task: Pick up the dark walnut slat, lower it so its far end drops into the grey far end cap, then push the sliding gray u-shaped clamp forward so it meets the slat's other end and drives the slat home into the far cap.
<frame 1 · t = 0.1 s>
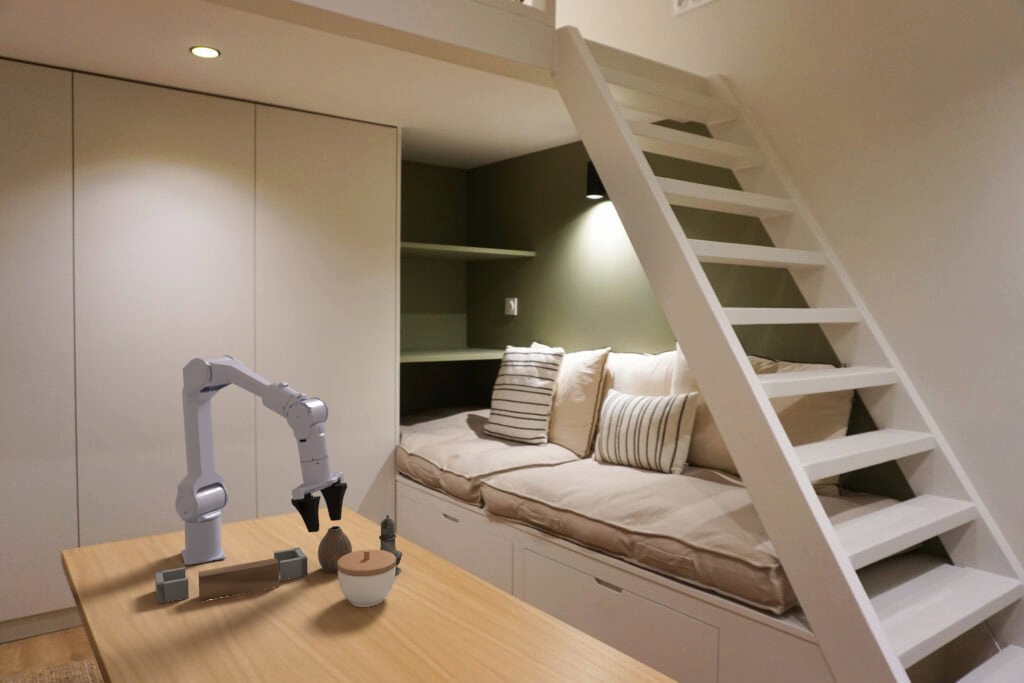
hand: (325, 525, 140), 11 cm above the table, tool pointing down, fingers open, 7 cm apart
gray u-shaped clamp: (171, 585, 132), point 2 cm above the table, slide at 0.0 cm
slat: (239, 592, 133), on the table
cap far: (290, 572, 143), on the table
vase: (335, 570, 145), on the table
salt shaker: (388, 573, 143), on the table
lidded jar: (367, 601, 130), on the table
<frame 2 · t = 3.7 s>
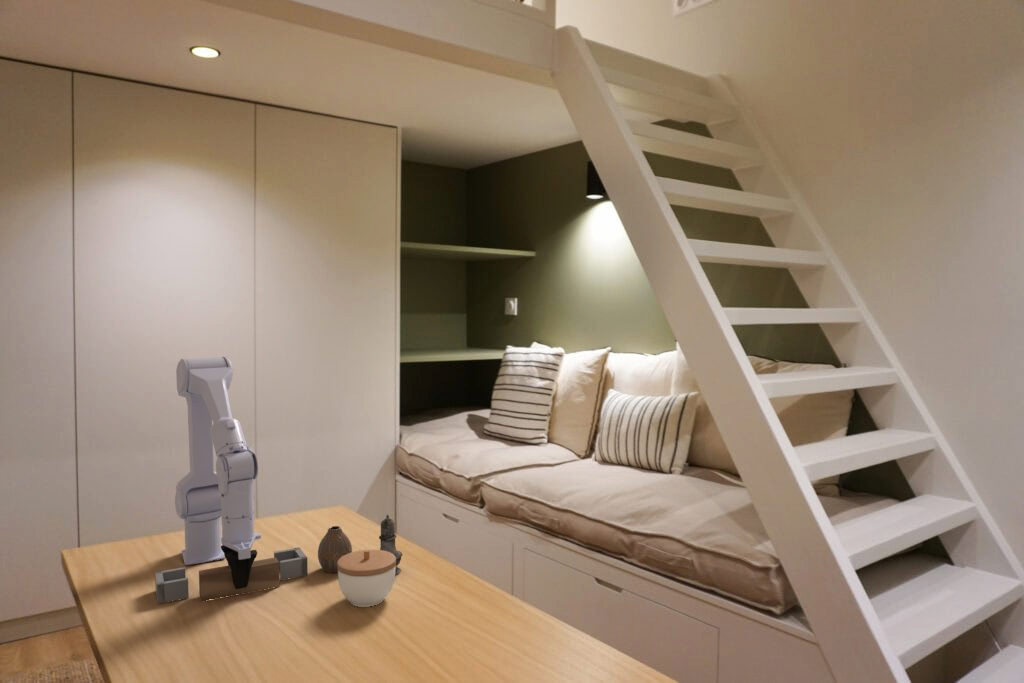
hand: (239, 584, 133), 1 cm above the table, tool pointing down, fingers closed on slat, 3 cm apart
slat: (240, 591, 133), on the table, touching gripper
everything else where it was.
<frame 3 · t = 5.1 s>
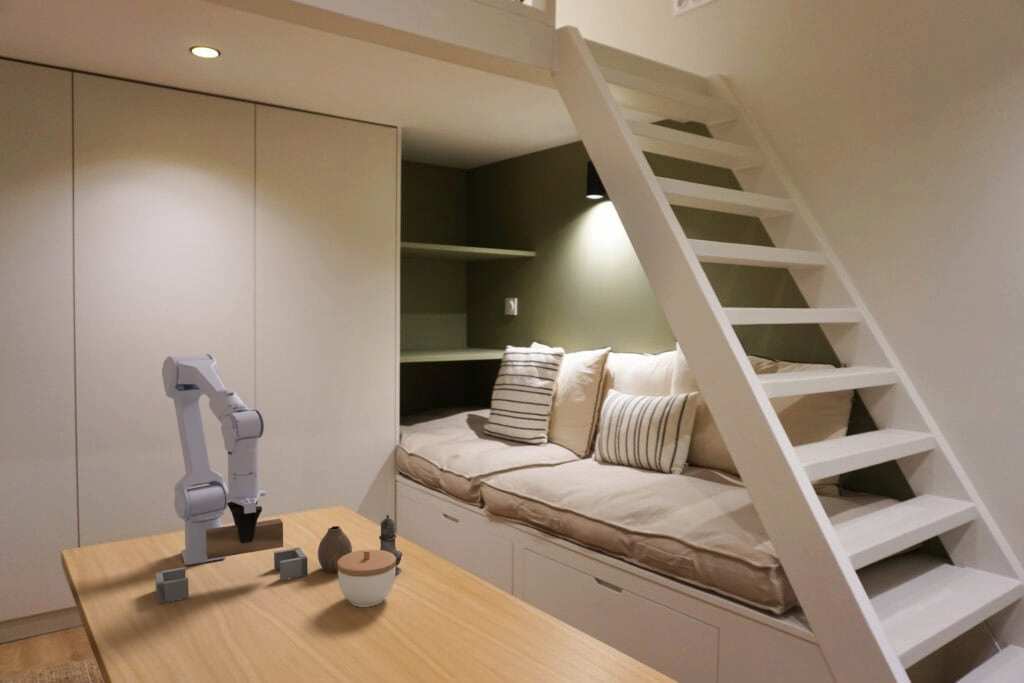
hand: (245, 539, 138), 8 cm above the table, tool pointing down, fingers closed on slat, 3 cm apart
slat: (245, 550, 138), point 6 cm above the table, touching gripper
everything else where it was.
when the fingers open (2 cm above the table, at t = 6.6 s): slat stays where it is, on the table.
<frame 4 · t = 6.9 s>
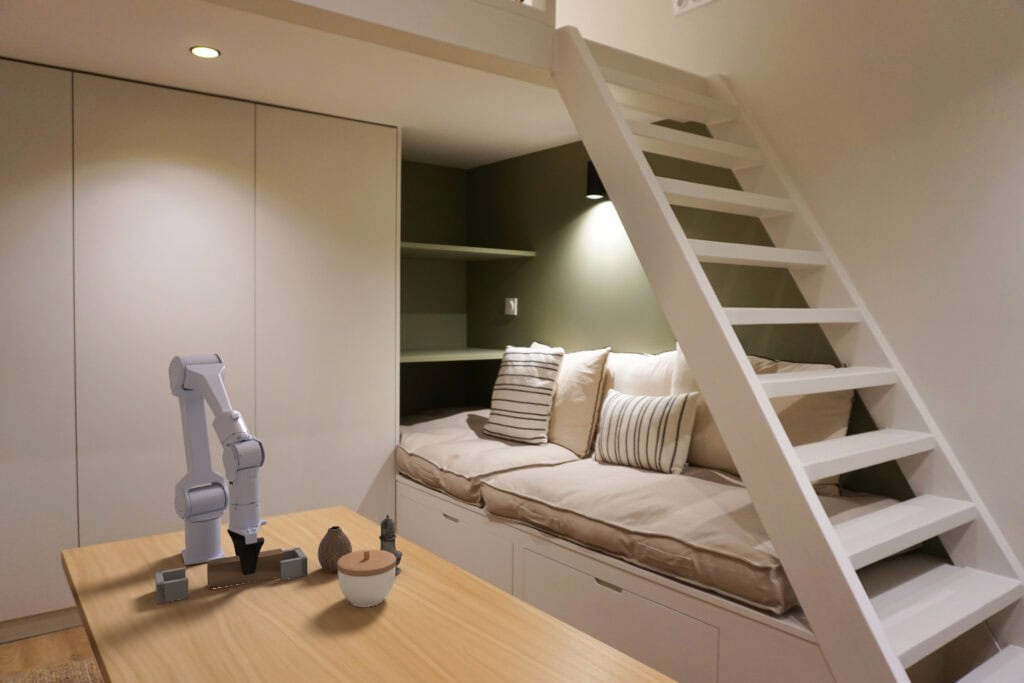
hand: (246, 568, 139), 2 cm above the table, tool pointing down, fingers open, 6 cm apart
slat: (246, 581, 139), on the table
everything else where it was.
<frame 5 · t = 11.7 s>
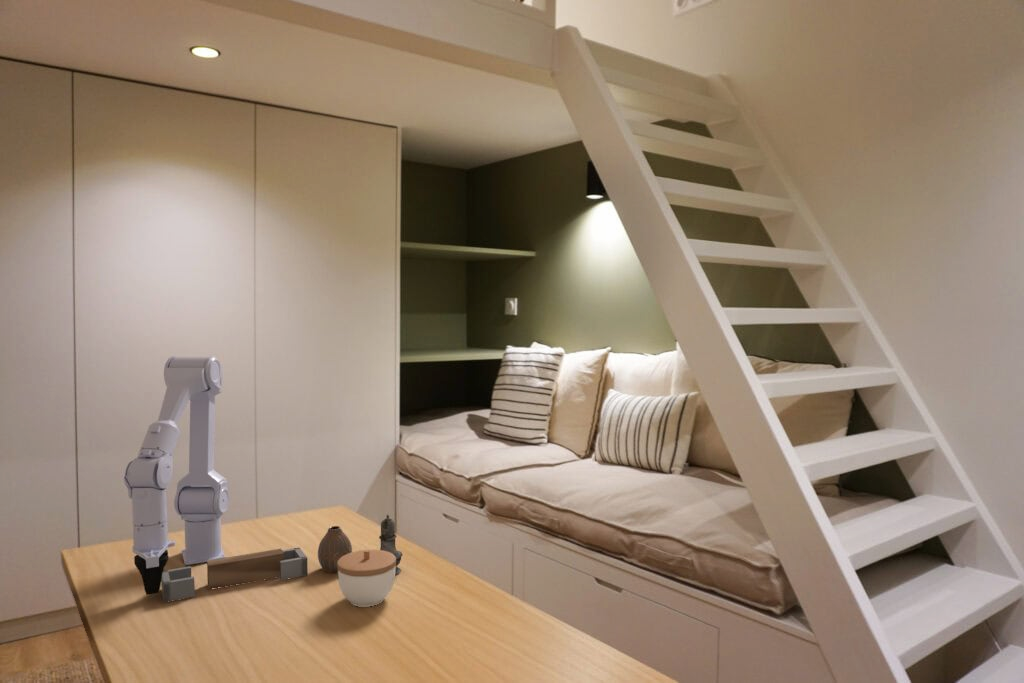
hand: (152, 592, 130), 1 cm above the table, tool pointing down, fingers closed
gray u-shaped clamp: (177, 583, 133), point 2 cm above the table, slide at 1.1 cm, touching gripper
everything else where it was.
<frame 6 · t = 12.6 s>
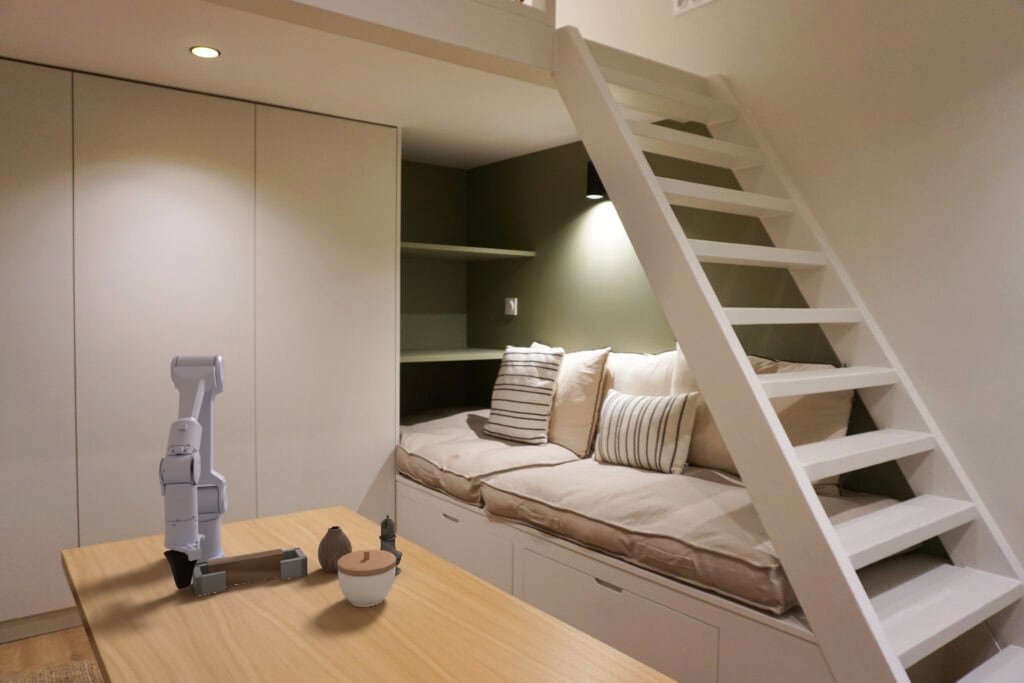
hand: (183, 587, 133), 1 cm above the table, tool pointing down, fingers closed
gray u-shaped clamp: (208, 578, 135), point 2 cm above the table, slide at 6.5 cm, touching gripper
everything else where it was.
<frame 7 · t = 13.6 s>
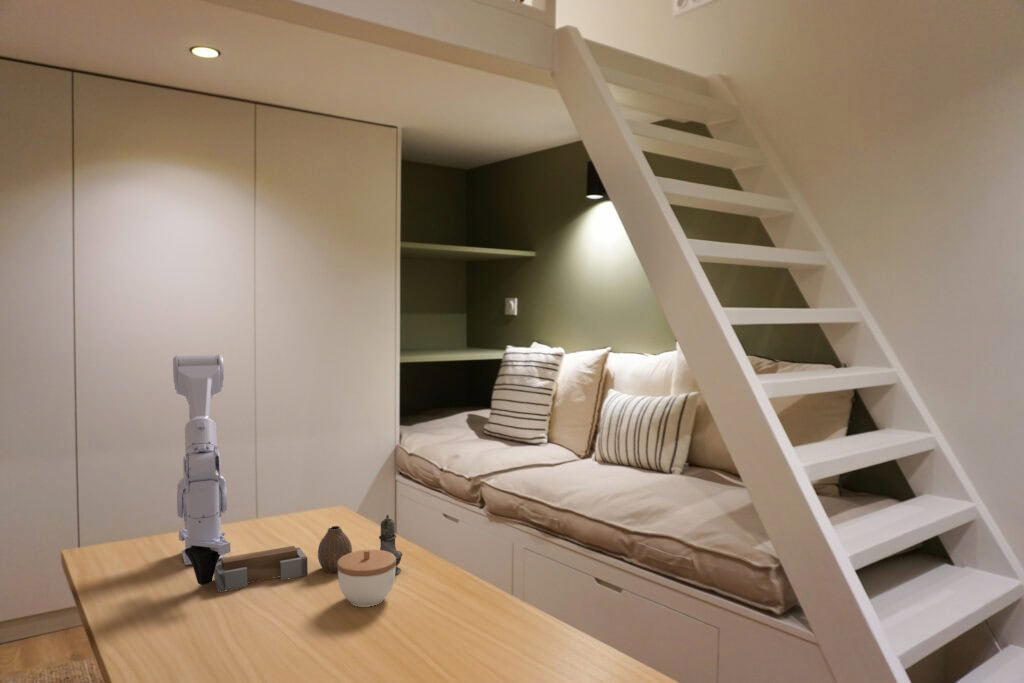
hand: (205, 582, 135), 1 cm above the table, tool pointing down, fingers closed
gray u-shaped clamp: (230, 574, 137), point 2 cm above the table, slide at 10.5 cm, touching gripper
slat: (260, 578, 140), on the table
everything else where it was.
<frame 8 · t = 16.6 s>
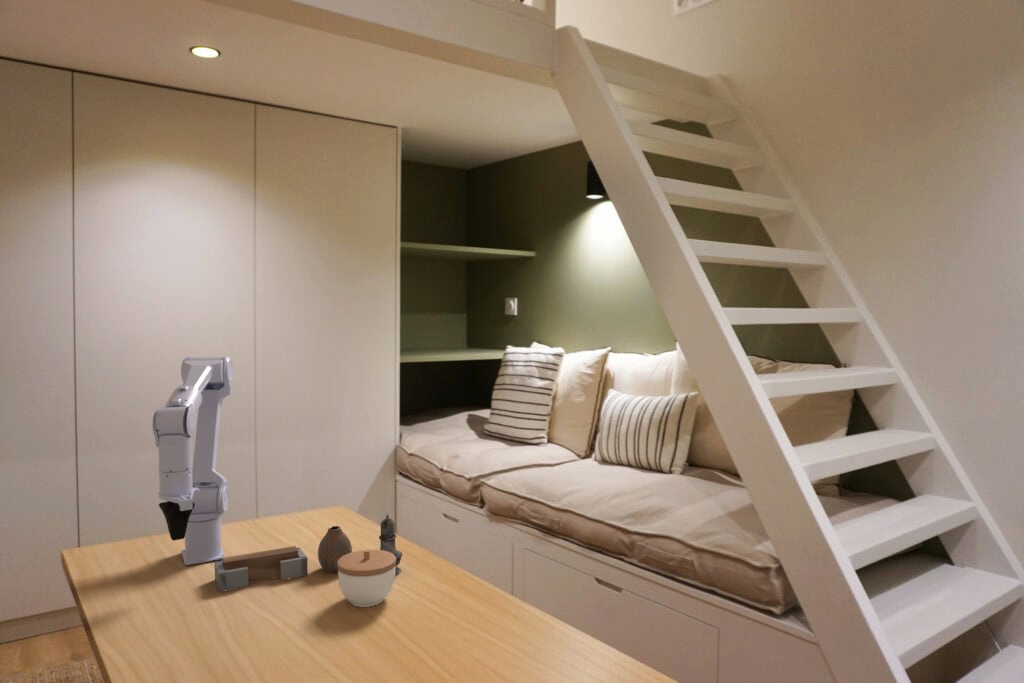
hand: (177, 538, 134), 10 cm above the table, tool pointing down, fingers closed
gray u-shaped clamp: (231, 574, 137), point 2 cm above the table, slide at 10.6 cm
everything else where it was.
at the end: slat 0.7 cm from the target spot, on the table; gray u-shaped clamp slide at 10.6 cm; slat tilted 0° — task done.
